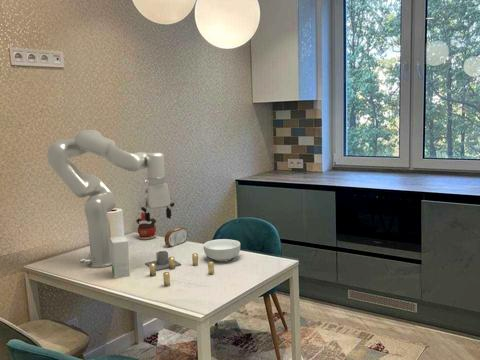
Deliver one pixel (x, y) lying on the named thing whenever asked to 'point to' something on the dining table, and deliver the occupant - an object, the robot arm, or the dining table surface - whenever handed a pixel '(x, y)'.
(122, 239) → the skincare box
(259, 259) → the dining table surface
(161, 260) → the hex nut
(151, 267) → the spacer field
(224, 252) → the cereal bowl
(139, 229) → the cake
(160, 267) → the mat
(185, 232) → the tin
